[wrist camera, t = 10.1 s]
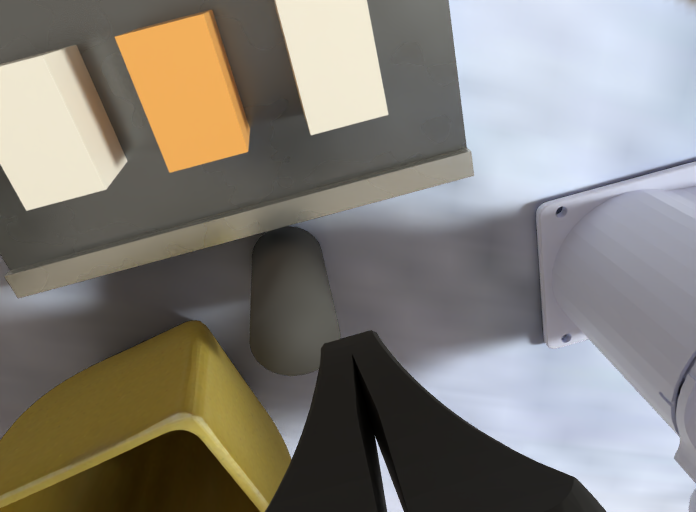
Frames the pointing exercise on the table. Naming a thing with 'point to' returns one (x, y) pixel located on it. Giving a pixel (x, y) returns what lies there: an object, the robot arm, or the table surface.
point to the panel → (240, 170)
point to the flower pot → (146, 436)
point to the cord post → (290, 302)
